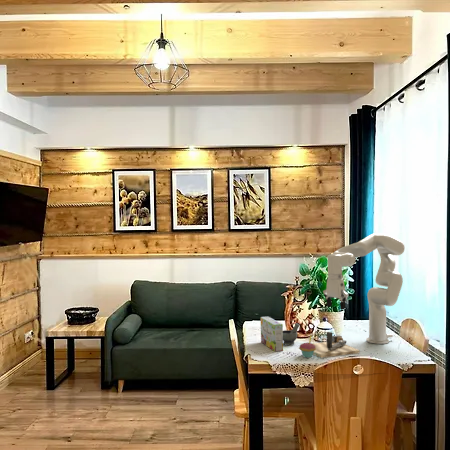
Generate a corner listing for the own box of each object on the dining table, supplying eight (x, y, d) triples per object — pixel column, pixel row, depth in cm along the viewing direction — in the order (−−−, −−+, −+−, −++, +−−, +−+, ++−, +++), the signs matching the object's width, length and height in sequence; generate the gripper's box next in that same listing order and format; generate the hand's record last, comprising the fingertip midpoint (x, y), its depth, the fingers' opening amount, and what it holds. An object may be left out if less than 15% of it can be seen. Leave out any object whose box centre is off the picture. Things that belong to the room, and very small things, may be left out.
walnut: (340, 341, 303) (340, 335, 302) (344, 343, 299) (344, 337, 299) (335, 342, 301) (335, 336, 301) (338, 343, 298) (338, 337, 298)
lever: (342, 342, 298) (342, 325, 298) (347, 343, 296) (347, 326, 296) (325, 350, 282) (325, 332, 281) (330, 351, 280) (330, 333, 280)
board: (336, 343, 305) (336, 340, 305) (359, 353, 285) (359, 349, 284) (300, 347, 296) (300, 344, 296) (320, 357, 276) (320, 354, 276)
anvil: (339, 340, 305) (339, 335, 305) (341, 341, 303) (341, 336, 303) (332, 341, 303) (332, 336, 303) (334, 342, 301) (334, 336, 301)
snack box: (259, 342, 308) (259, 316, 307) (268, 341, 310) (268, 316, 309) (274, 351, 288) (274, 324, 287) (283, 351, 289) (283, 323, 289)
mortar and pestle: (280, 346, 300) (280, 325, 299) (279, 341, 309) (279, 321, 309) (300, 346, 299) (300, 325, 299) (298, 342, 309) (299, 321, 308)
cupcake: (313, 354, 283) (314, 331, 283) (317, 358, 274) (317, 335, 274) (297, 354, 283) (298, 331, 282) (300, 358, 274) (300, 335, 274)
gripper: (351, 277, 285) (352, 308, 286) (328, 274, 299) (328, 304, 300) (342, 279, 280) (343, 311, 281) (318, 275, 294) (319, 306, 295)
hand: (335, 307), depth 291 cm, fingers open, 9 cm apart
